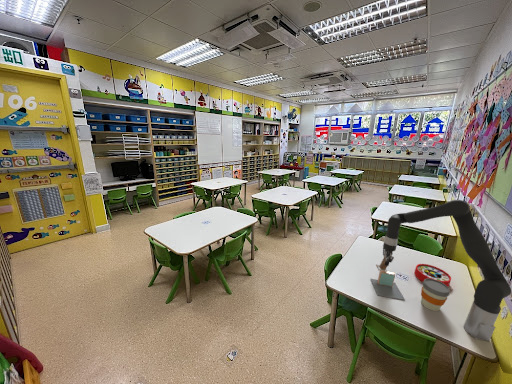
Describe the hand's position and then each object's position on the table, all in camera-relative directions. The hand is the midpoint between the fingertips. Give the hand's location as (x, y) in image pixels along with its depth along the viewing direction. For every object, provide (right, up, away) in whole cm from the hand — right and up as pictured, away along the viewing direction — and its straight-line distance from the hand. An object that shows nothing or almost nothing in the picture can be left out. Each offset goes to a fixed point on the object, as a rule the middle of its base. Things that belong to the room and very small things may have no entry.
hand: (385, 264), depth 146 cm
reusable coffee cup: (+17, -20, -18) cm, 31 cm away
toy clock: (+38, -13, +6) cm, 40 cm away
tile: (-2, -9, -3) cm, 10 cm away
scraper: (-2, -4, +2) cm, 5 cm away
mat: (-3, -15, -5) cm, 17 cm away
